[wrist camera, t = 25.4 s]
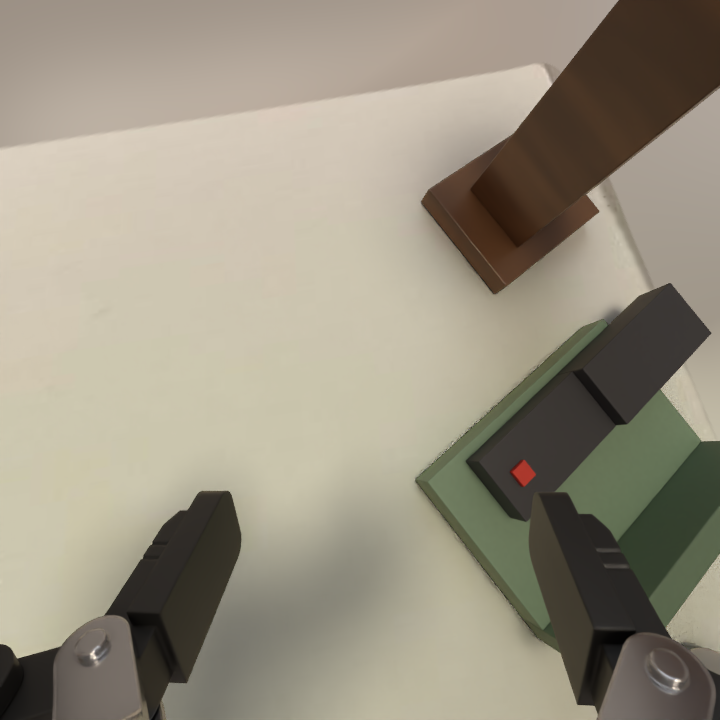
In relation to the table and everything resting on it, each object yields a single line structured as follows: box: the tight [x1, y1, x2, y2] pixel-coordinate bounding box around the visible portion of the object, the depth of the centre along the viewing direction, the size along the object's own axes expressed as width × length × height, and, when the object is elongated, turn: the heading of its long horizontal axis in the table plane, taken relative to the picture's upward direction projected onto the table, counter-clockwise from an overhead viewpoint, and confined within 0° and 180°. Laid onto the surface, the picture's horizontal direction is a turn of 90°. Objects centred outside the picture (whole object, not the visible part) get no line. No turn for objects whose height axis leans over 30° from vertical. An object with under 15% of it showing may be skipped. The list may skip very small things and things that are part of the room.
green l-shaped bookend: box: [416, 319, 720, 653], centre depth 25 cm, size 16×12×6 cm
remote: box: [466, 283, 711, 522], centre depth 26 cm, size 17×4×2 cm, turn 129°
